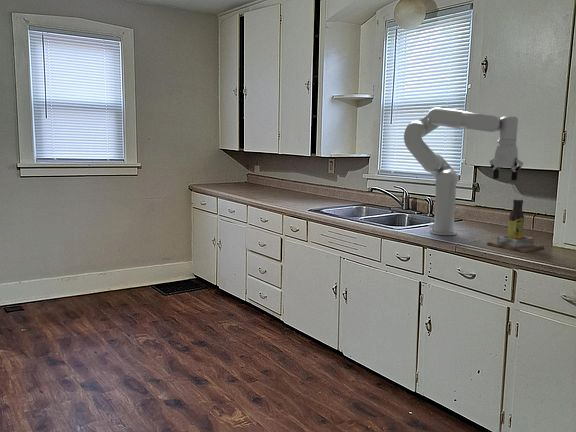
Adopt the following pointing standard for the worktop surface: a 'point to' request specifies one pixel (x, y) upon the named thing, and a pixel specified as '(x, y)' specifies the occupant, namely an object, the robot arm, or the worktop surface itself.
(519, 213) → the sauce bottle
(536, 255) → the worktop surface
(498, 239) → the condiment board
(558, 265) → the worktop surface
